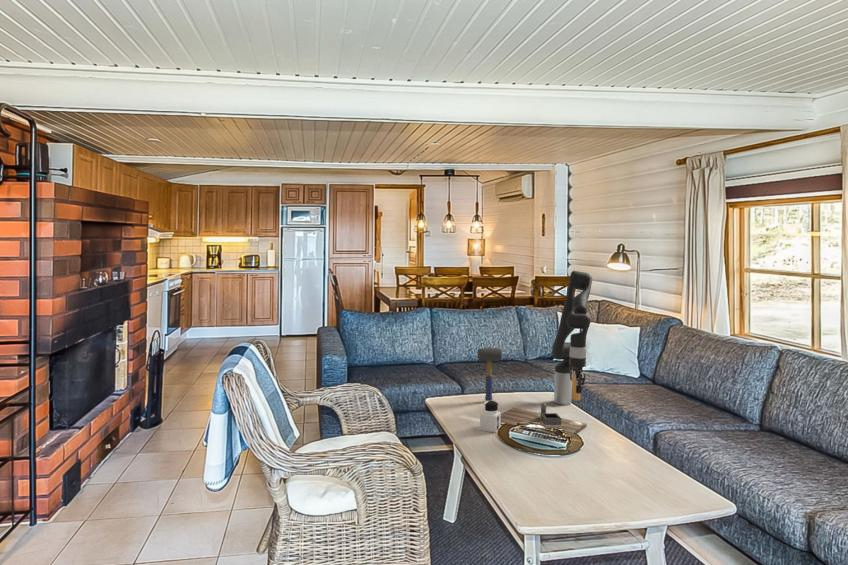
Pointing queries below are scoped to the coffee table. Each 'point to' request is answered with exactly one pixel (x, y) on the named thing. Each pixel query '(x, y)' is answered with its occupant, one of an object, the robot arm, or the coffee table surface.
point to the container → (490, 417)
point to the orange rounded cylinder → (575, 395)
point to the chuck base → (521, 415)
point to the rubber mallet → (489, 366)
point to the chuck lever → (549, 418)
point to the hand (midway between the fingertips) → (576, 391)
